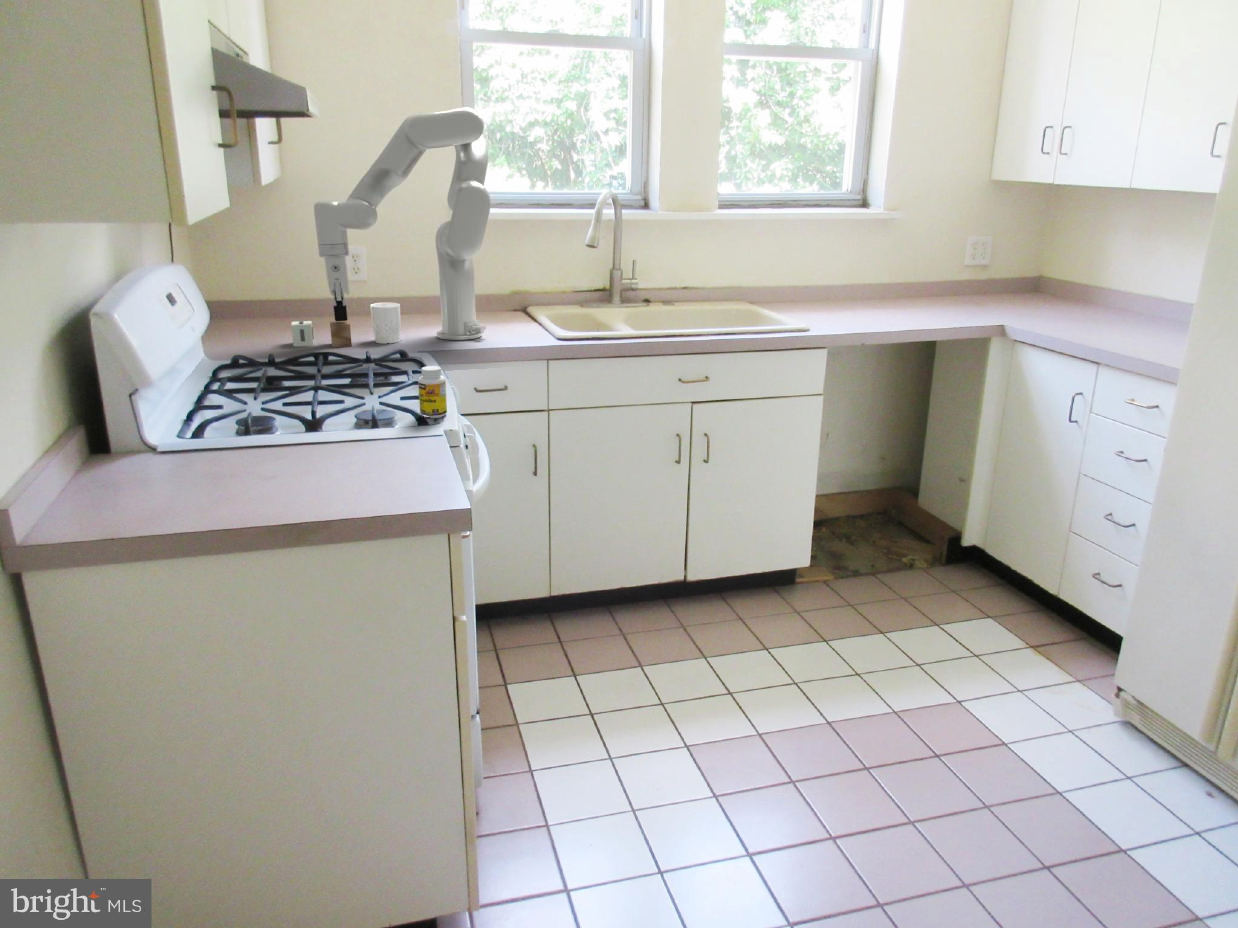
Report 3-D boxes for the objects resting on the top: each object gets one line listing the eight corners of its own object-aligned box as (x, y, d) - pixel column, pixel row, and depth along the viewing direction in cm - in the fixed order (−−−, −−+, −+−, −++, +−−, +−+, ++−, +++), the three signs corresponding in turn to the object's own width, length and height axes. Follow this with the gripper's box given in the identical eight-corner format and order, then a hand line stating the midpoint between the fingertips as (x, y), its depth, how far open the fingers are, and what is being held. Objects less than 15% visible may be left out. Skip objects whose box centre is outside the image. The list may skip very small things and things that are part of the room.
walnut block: (351, 342, 245) (349, 320, 243) (351, 346, 240) (349, 324, 238) (332, 343, 244) (329, 321, 242) (332, 347, 239) (330, 325, 237)
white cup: (367, 341, 247) (364, 304, 243) (391, 337, 252) (389, 301, 249) (383, 345, 242) (380, 308, 238) (408, 341, 247) (405, 305, 244)
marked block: (314, 342, 245) (312, 320, 243) (314, 346, 240) (311, 323, 238) (294, 343, 244) (291, 320, 242) (293, 347, 239) (291, 324, 237)
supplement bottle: (415, 417, 179) (411, 369, 176) (429, 410, 184) (426, 363, 180) (438, 420, 177) (435, 372, 174) (452, 413, 182) (449, 366, 178)
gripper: (349, 253, 228) (356, 325, 234) (348, 246, 241) (355, 314, 248) (318, 254, 226) (326, 326, 232) (318, 247, 239) (326, 316, 246)
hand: (341, 320), depth 240 cm, fingers closed
